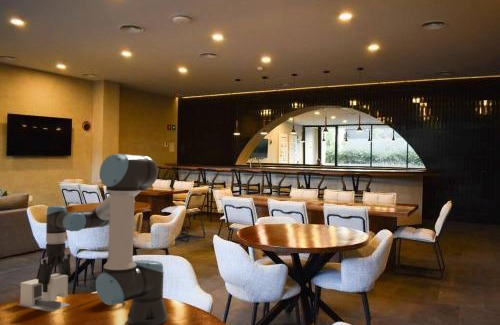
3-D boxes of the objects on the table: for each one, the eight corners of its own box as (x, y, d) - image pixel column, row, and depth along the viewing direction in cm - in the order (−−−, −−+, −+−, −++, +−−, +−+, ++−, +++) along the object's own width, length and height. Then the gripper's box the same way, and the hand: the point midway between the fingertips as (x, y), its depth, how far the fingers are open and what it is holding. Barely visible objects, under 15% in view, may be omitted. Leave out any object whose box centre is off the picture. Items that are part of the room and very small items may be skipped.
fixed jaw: (20, 303, 175) (20, 282, 176) (34, 299, 182) (35, 279, 182) (32, 306, 172) (32, 284, 173) (46, 301, 179) (47, 281, 179)
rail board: (70, 307, 175) (70, 299, 175) (50, 314, 166) (50, 306, 166) (37, 301, 183) (37, 293, 183) (16, 307, 174) (17, 300, 174)
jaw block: (67, 296, 174) (67, 275, 174) (53, 301, 167) (54, 279, 168) (54, 294, 177) (55, 273, 177) (40, 298, 170) (41, 277, 171)
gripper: (68, 238, 183) (67, 289, 183) (28, 245, 165) (27, 302, 164) (80, 239, 180) (79, 292, 180) (41, 246, 162) (40, 305, 161)
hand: (54, 296), depth 172 cm, fingers closed on jaw block, 7 cm apart
